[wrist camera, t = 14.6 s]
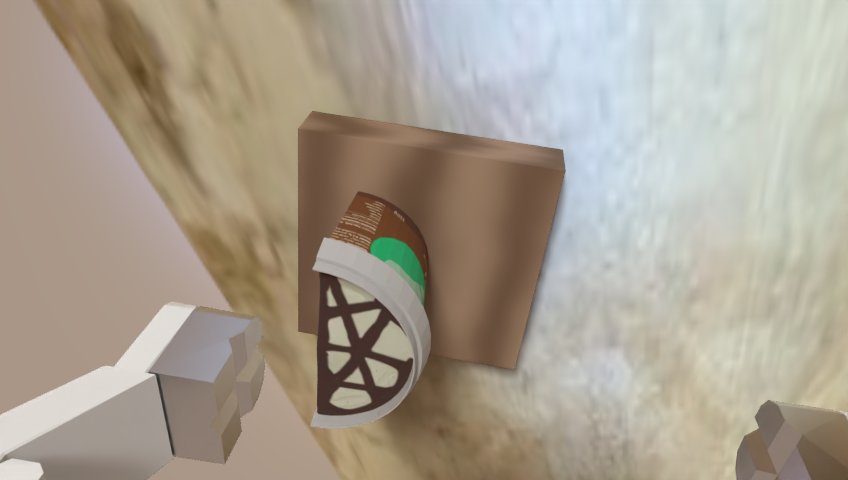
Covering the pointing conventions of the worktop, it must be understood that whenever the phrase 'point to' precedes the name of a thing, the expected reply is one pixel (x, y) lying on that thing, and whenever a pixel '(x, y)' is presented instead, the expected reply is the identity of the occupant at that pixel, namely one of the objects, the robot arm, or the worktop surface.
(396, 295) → the food container
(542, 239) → the walnut base
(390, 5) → the worktop surface
